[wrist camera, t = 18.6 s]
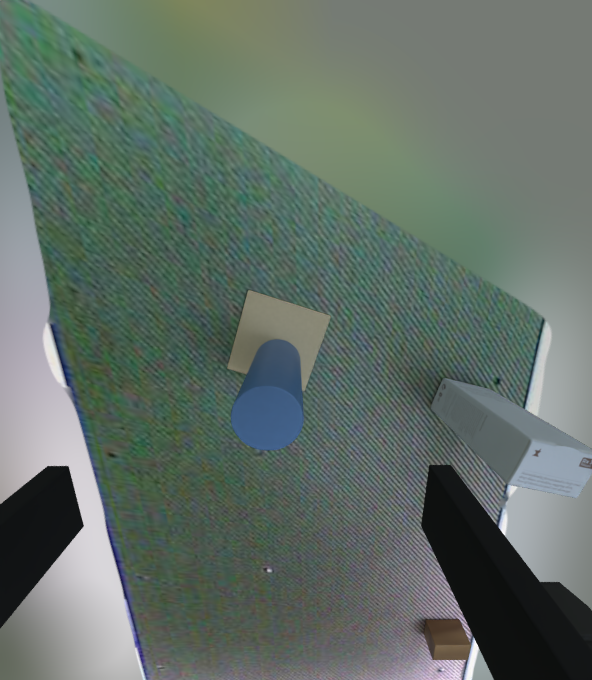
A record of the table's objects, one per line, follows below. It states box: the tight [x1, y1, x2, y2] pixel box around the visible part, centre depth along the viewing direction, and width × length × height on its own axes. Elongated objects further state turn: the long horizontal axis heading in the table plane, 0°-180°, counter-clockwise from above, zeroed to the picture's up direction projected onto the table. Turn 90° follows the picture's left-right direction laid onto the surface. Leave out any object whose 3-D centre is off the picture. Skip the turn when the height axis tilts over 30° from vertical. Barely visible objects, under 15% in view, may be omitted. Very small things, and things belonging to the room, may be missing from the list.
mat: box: [227, 290, 331, 391], centre depth 30 cm, size 9×9×1 cm
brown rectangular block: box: [424, 619, 471, 660], centre depth 41 cm, size 3×5×3 cm, turn 91°
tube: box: [231, 339, 304, 451], centre depth 25 cm, size 12×5×5 cm
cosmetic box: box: [431, 378, 592, 498], centre depth 27 cm, size 6×4×12 cm
